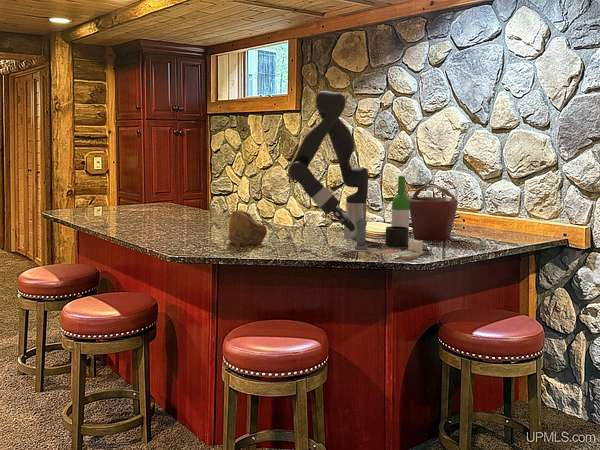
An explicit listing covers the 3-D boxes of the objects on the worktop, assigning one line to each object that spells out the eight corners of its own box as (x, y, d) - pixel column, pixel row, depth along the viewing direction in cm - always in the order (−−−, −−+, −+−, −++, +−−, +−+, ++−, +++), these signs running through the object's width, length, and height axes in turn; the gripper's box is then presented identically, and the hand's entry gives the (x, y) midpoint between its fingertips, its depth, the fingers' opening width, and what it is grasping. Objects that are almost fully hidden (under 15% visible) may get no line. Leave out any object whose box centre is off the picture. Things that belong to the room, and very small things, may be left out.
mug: (408, 246, 283) (408, 226, 282) (407, 251, 272) (408, 229, 271) (386, 245, 285) (386, 225, 284) (384, 250, 274) (385, 228, 272)
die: (408, 253, 266) (408, 241, 265) (410, 251, 271) (410, 239, 270) (420, 254, 264) (421, 241, 264) (422, 252, 269) (422, 240, 269)
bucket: (464, 241, 299) (466, 187, 296) (421, 243, 292) (423, 187, 289) (437, 234, 322) (439, 183, 319) (396, 235, 315) (398, 183, 312)
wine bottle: (394, 245, 286) (396, 176, 282) (388, 242, 294) (390, 175, 290) (411, 245, 288) (413, 176, 284) (404, 242, 295) (407, 175, 291)
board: (346, 253, 265) (346, 249, 265) (358, 249, 274) (358, 246, 274) (408, 260, 251) (408, 256, 250) (419, 256, 260) (419, 252, 260)
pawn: (352, 249, 267) (352, 218, 265) (358, 247, 271) (358, 216, 269) (363, 250, 264) (364, 219, 262) (369, 248, 268) (370, 217, 267)
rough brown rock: (263, 250, 274) (266, 215, 273) (224, 246, 275) (227, 211, 273) (267, 243, 297) (270, 211, 296) (231, 240, 298) (234, 207, 296)
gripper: (332, 195, 258) (360, 224, 259) (332, 192, 272) (359, 220, 273) (318, 208, 259) (347, 237, 260) (319, 204, 273) (346, 232, 274)
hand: (353, 228), depth 266 cm, fingers open, 8 cm apart
